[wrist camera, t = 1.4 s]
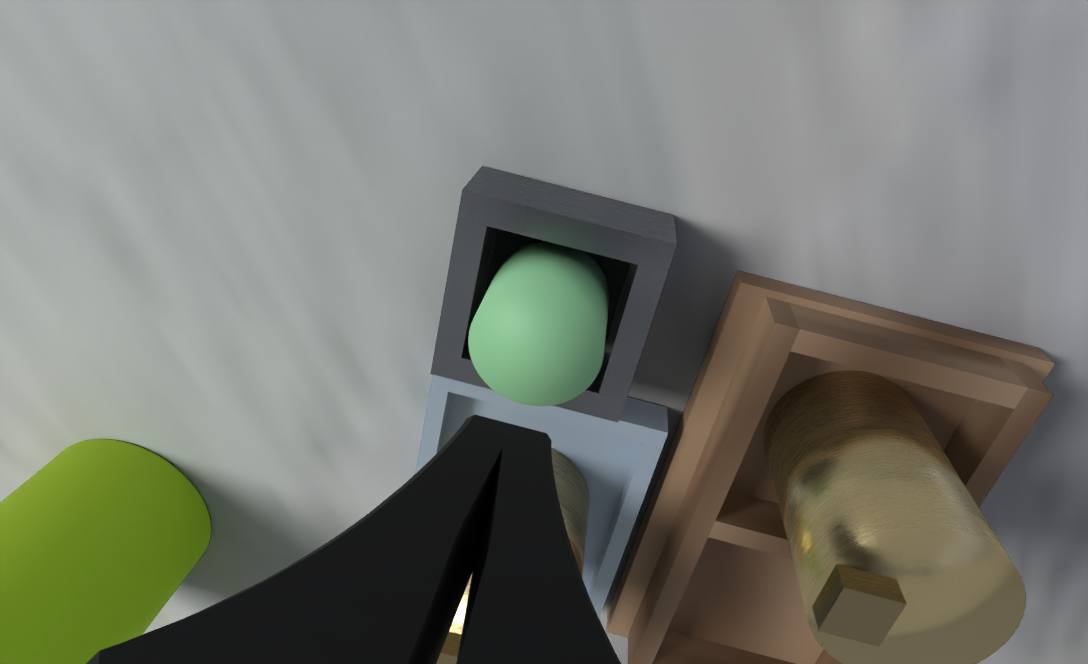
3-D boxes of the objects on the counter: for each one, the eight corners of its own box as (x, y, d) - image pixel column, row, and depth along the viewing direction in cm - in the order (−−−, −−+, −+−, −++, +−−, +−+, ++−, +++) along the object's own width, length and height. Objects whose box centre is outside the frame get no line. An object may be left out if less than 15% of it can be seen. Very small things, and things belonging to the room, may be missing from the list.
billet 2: (947, 392, 19) (1086, 587, 13) (880, 508, 20) (974, 725, 15) (796, 353, 19) (865, 529, 13) (742, 473, 20) (781, 674, 15)
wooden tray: (1039, 348, 19) (1088, 394, 16) (835, 672, 25) (852, 736, 22) (737, 270, 19) (748, 307, 17) (607, 612, 25) (603, 670, 23)
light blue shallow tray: (667, 407, 21) (668, 432, 20) (597, 598, 24) (594, 630, 23) (444, 349, 21) (433, 372, 20) (408, 549, 24) (396, 578, 23)
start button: (623, 258, 18) (619, 305, 15) (592, 361, 19) (584, 420, 16) (504, 227, 18) (481, 269, 15) (482, 333, 19) (458, 387, 17)
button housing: (674, 215, 18) (677, 244, 16) (621, 379, 20) (618, 422, 19) (482, 166, 18) (462, 189, 16) (451, 335, 21) (430, 374, 19)
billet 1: (604, 460, 21) (590, 645, 15) (572, 558, 23) (549, 758, 17) (473, 426, 21) (409, 598, 15) (451, 526, 23) (386, 715, 17)
